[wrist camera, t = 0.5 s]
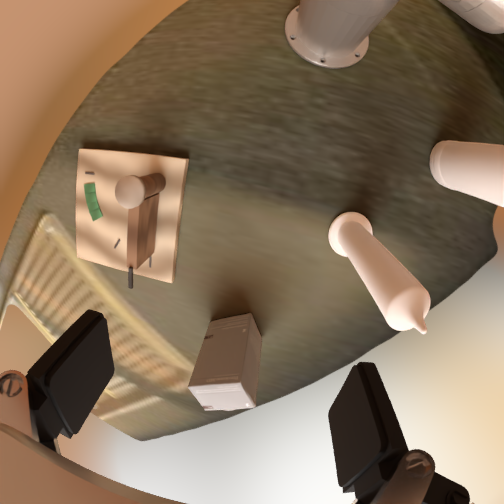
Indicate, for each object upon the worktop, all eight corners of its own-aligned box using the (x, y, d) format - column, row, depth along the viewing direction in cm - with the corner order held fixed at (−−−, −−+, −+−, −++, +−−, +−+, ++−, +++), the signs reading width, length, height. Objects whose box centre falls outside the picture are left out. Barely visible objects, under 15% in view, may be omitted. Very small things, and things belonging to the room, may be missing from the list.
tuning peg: (146, 167, 37) (116, 174, 29) (170, 171, 37) (144, 178, 29) (139, 264, 43) (113, 289, 35) (160, 270, 43) (138, 296, 35)
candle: (321, 247, 42) (368, 360, 18) (337, 204, 39) (415, 281, 16) (360, 260, 42) (429, 369, 19) (377, 220, 39) (473, 302, 16)
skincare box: (251, 310, 47) (242, 377, 32) (263, 341, 49) (259, 409, 34) (207, 320, 48) (183, 384, 33) (221, 349, 50) (205, 414, 36)
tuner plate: (84, 148, 38) (78, 149, 37) (189, 159, 38) (185, 159, 37) (81, 254, 46) (76, 257, 44) (174, 279, 46) (171, 283, 44)
